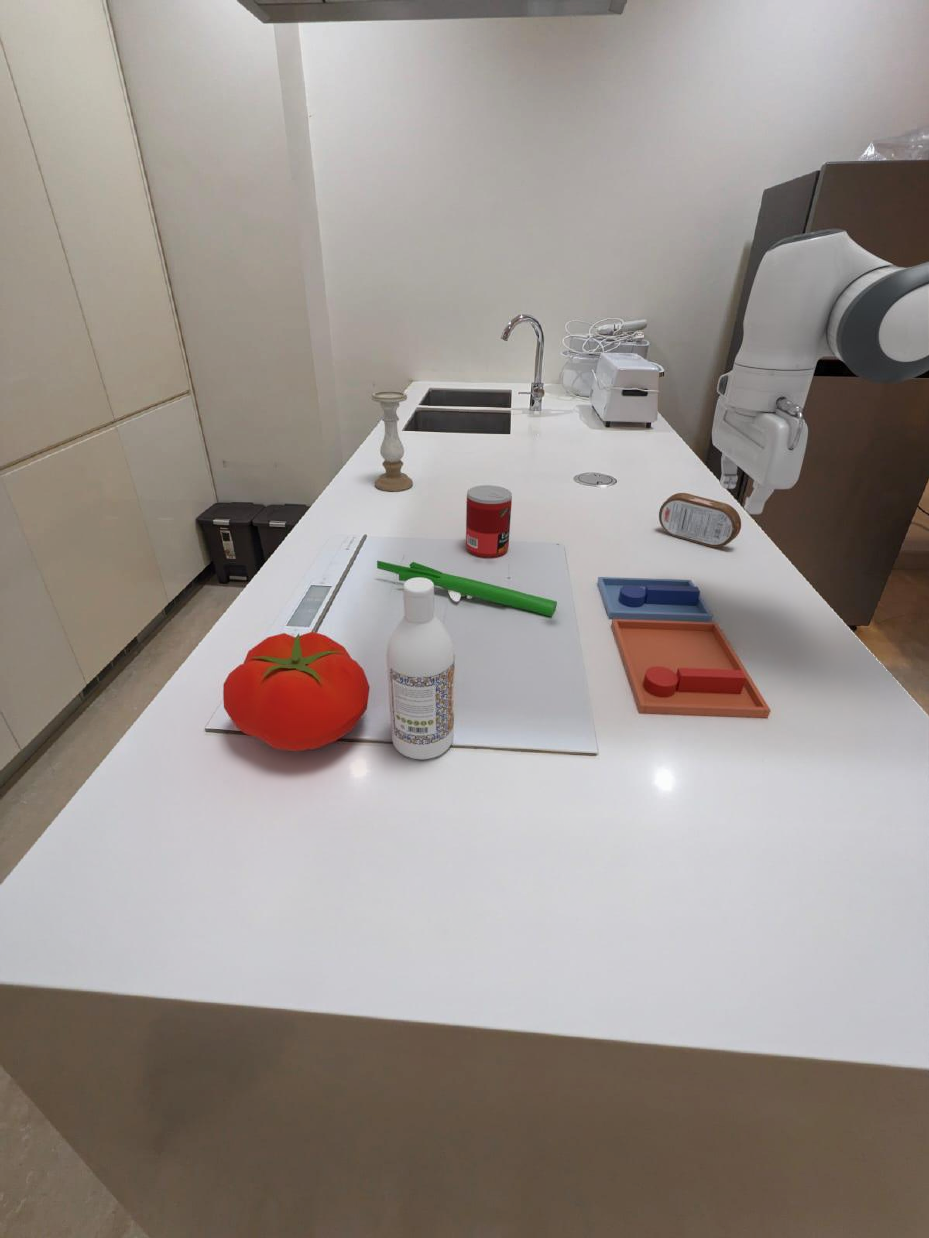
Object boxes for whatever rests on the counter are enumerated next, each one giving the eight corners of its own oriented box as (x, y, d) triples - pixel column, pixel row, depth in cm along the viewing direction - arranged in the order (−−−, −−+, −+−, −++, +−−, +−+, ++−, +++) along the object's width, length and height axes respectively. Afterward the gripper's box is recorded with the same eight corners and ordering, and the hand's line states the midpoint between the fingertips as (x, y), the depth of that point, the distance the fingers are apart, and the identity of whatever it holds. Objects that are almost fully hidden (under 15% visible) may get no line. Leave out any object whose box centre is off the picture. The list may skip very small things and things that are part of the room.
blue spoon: (691, 596, 93) (695, 582, 92) (698, 609, 90) (702, 595, 88) (616, 594, 93) (618, 580, 92) (620, 607, 90) (623, 592, 88)
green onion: (555, 613, 90) (384, 569, 98) (558, 596, 88) (383, 552, 96) (547, 630, 86) (370, 582, 95) (550, 611, 84) (369, 564, 93)
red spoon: (733, 680, 75) (738, 664, 73) (744, 700, 71) (750, 683, 70) (639, 676, 75) (643, 660, 74) (646, 696, 72) (650, 680, 70)
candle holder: (420, 485, 136) (418, 394, 125) (391, 494, 131) (386, 400, 120) (395, 476, 141) (391, 388, 130) (367, 485, 136) (360, 394, 125)
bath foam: (460, 755, 63) (463, 598, 53) (397, 767, 62) (387, 606, 51) (446, 714, 69) (446, 564, 58) (388, 723, 67) (377, 571, 57)
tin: (735, 548, 109) (747, 506, 105) (729, 554, 107) (742, 511, 103) (659, 527, 117) (668, 487, 113) (653, 532, 115) (661, 491, 111)
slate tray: (688, 588, 96) (690, 579, 95) (710, 624, 87) (713, 615, 86) (596, 585, 97) (598, 576, 96) (608, 621, 87) (610, 612, 86)
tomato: (316, 792, 59) (304, 718, 53) (205, 734, 65) (184, 664, 60) (397, 710, 69) (393, 642, 64) (295, 668, 76) (284, 603, 71)
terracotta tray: (714, 631, 85) (717, 622, 84) (766, 720, 69) (770, 710, 68) (610, 627, 86) (612, 618, 85) (638, 715, 69) (641, 705, 68)
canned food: (506, 560, 104) (510, 501, 98) (462, 556, 105) (463, 498, 99) (510, 542, 110) (514, 486, 104) (468, 539, 111) (470, 483, 105)
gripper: (836, 409, 62) (797, 530, 69) (761, 376, 79) (736, 475, 86) (776, 409, 62) (743, 529, 69) (714, 375, 79) (693, 474, 86)
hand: (739, 499), depth 78 cm, fingers open, 8 cm apart
